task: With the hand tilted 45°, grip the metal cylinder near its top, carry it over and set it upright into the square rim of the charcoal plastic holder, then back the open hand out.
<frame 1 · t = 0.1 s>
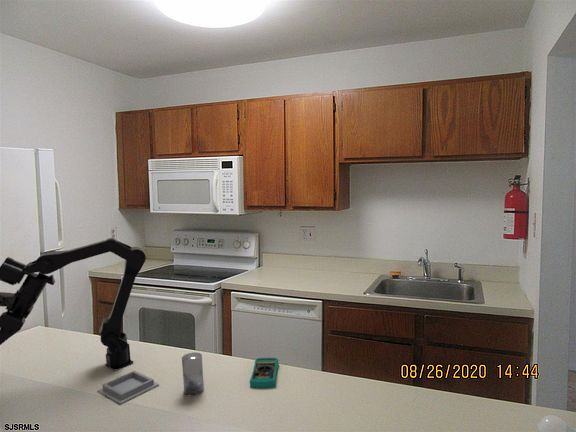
hand: (1, 339, 121), 15 cm above the counter, tool tilted 35°, fingers open, 9 cm apart
holder: (128, 388, 119), on the counter
digital multimeter: (265, 377, 124), on the counter
metal cylinder: (194, 390, 116), on the counter
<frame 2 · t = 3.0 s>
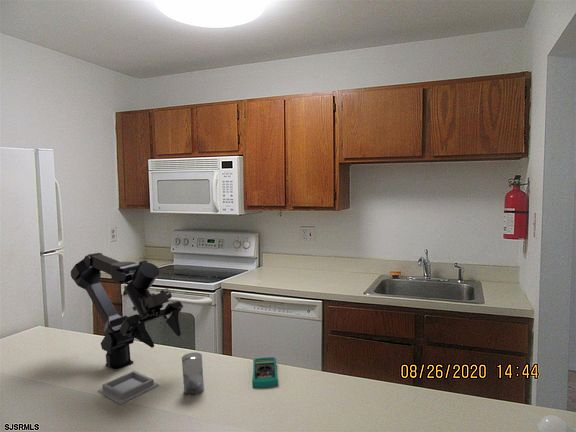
hand: (167, 341, 118), 14 cm above the counter, tool tilted 45°, fingers open, 9 cm apart
nothing on the counter moved.
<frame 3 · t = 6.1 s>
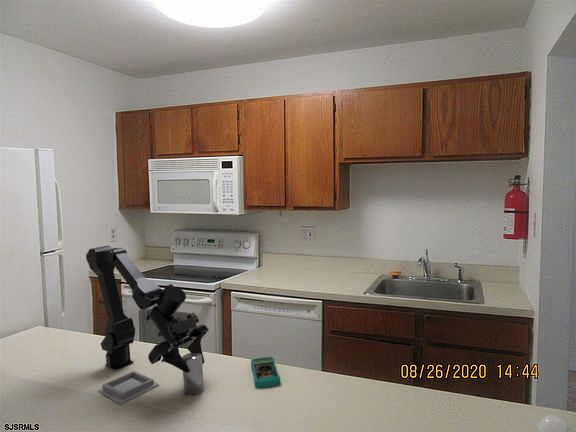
hand: (196, 367, 115), 7 cm above the counter, tool tilted 45°, fingers closed on metal cylinder, 5 cm apart
metal cylinder: (194, 390, 116), on the counter, touching gripper
everything else where it was.
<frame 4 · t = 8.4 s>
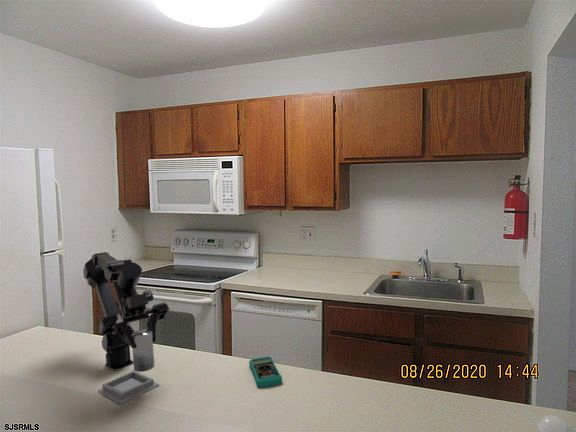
hand: (144, 344, 114), 14 cm above the counter, tool tilted 45°, fingers closed on metal cylinder, 5 cm apart
metal cylinder: (144, 366, 116), point 7 cm above the counter, touching gripper
when the fingers open (8 cm above the counter, at t = 10.6 s): metal cylinder stays where it is, resting on holder.
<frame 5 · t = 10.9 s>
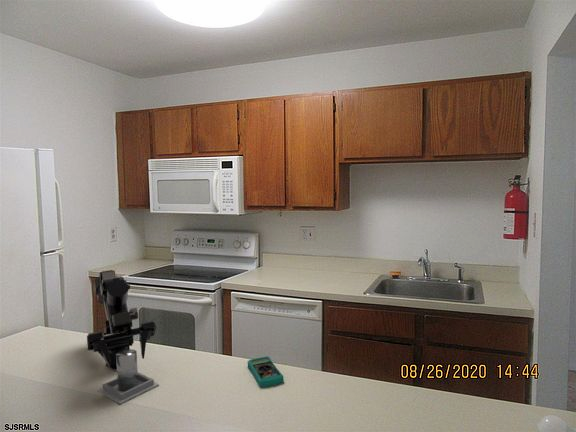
hand: (127, 362, 117), 9 cm above the counter, tool tilted 45°, fingers open, 9 cm apart
metal cylinder: (128, 386, 119), point 1 cm above the counter, touching holder
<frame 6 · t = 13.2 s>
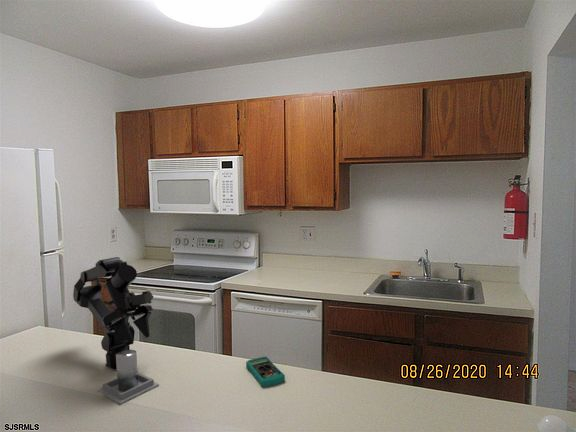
hand: (140, 339, 126), 11 cm above the counter, tool tilted 35°, fingers open, 9 cm apart
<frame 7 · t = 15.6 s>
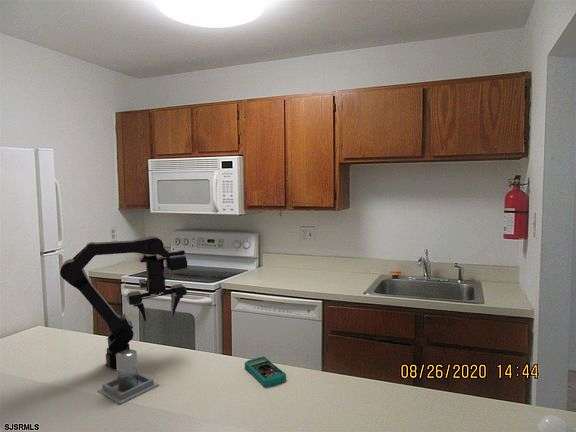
hand: (159, 318, 139), 13 cm above the counter, tool pointing down, fingers open, 9 cm apart
at the end: metal cylinder 0.0 cm off-centre on the holder, point 0.5 cm above the holder's base; metal cylinder tilted 1°; the gripper is holding nothing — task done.
